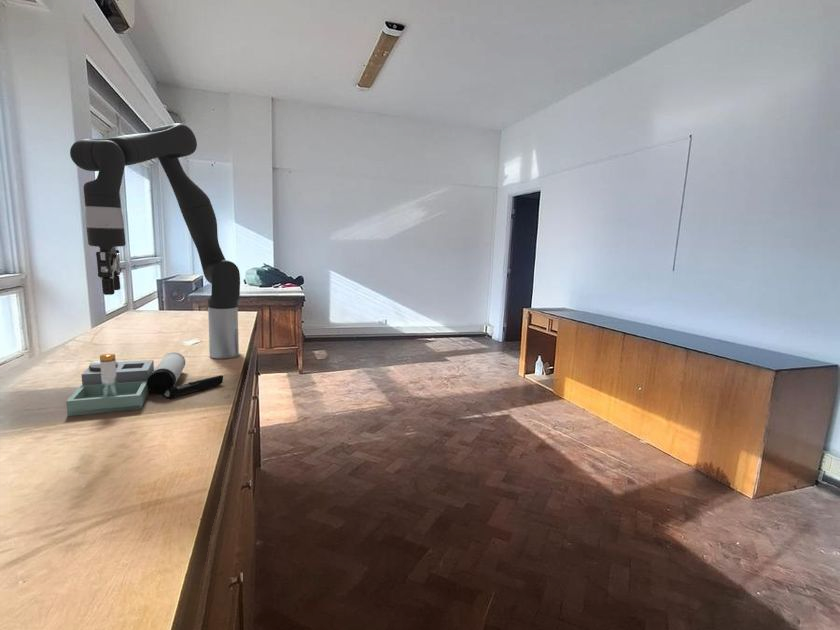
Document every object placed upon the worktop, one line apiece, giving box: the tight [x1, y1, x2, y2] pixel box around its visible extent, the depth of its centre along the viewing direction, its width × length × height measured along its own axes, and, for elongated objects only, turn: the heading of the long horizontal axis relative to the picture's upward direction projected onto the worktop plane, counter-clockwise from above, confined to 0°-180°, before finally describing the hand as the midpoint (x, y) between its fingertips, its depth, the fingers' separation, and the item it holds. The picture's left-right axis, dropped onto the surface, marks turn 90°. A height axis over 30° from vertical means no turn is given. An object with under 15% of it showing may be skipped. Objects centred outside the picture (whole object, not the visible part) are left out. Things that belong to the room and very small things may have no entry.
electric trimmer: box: [162, 374, 224, 400], centre depth 116 cm, size 4×16×3 cm, turn 146°
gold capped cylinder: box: [99, 353, 118, 397], centre depth 103 cm, size 3×3×11 cm
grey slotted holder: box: [80, 359, 155, 393], centre depth 114 cm, size 14×10×7 cm
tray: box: [65, 381, 149, 417], centre depth 104 cm, size 14×11×4 cm
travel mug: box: [147, 352, 186, 395], centre depth 120 cm, size 6×7×20 cm
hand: (112, 292), depth 108 cm, fingers open, 8 cm apart
